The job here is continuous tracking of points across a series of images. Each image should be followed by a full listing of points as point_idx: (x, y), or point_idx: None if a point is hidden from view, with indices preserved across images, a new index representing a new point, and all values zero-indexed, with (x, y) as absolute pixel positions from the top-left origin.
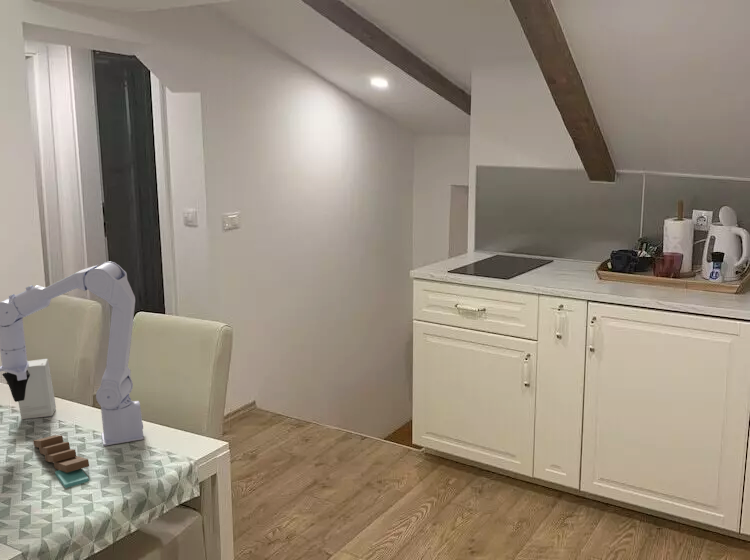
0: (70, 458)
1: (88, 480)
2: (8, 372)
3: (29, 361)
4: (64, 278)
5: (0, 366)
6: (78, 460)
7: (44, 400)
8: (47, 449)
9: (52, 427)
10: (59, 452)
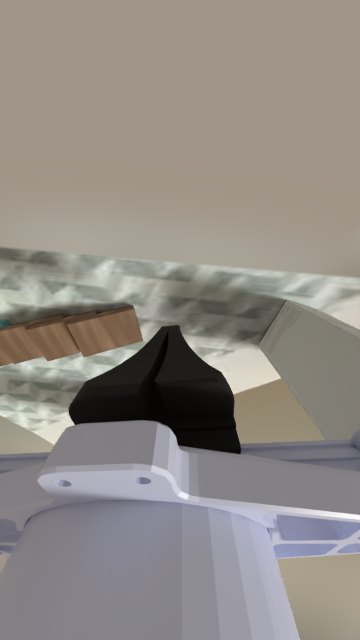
0: None
1: None
2: (17, 470)
3: None
4: None
5: (166, 494)
6: None
7: (278, 358)
8: (28, 329)
9: (206, 339)
10: (28, 341)
